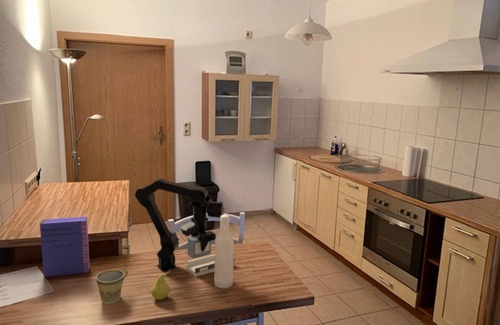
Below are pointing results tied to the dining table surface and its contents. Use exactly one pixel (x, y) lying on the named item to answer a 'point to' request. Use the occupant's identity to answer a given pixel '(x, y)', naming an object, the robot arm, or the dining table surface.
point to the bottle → (224, 255)
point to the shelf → (202, 265)
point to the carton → (197, 247)
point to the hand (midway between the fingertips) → (199, 249)
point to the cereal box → (64, 246)
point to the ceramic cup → (110, 285)
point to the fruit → (160, 288)
